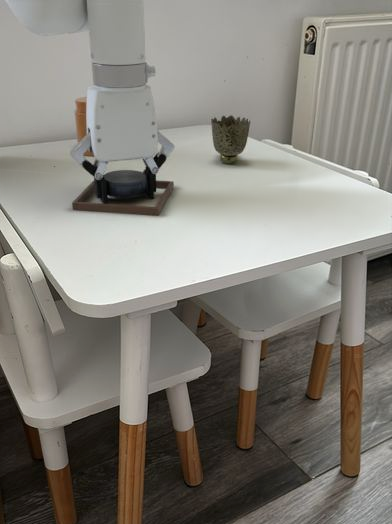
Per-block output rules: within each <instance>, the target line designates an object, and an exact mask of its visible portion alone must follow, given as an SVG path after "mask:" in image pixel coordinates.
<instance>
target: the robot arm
mask: <svg viewBox="0 0 392 524" xmlns="http://www.w3.org/2000/svg"><path fill="white" fill-rule="evenodd" d="M4 1H5V3H6V4H7V6H8V8H9V9H10V11H11V12H12V14H13V15H14V17H15V18H16V19H17V20H18V22H19V23H20V24H21V25H22V26H23V27H24V28H25V29H26V30H28V31H29V32H31V33H33V35H37V36H41V37H52V36H58V35H64V34H68V35H69V34H78V33H83V32H84V33H85V32H88V36H89V48H90V60H91V75H92V85H90V86H88V87H87V92H86V94H87V95H86V97H87V104H86V124H87V135H86V136H85V137H84V138H83V139H82V140H81V141H80V142H79V143H78V142H77V144H76V145H75V146H74V147H73V148H72V149H71V150H70V156H71V157H72V158H73V159H74V161H76V162H77V164H79V166H81V167H82V168H83V169H84V170H85V171H86V172H87V173H89V174H90V175H91V176H92V177H93V181H94V185H95V191H94V195H95V198H96V199H97V200H98V199H99V200H100V202H101V203H102V204H109V197H108V196H109V195H107V182H106V179H105V178H104V174H105V172H106V169H107V167H108V163H109V162H110V163H111V162H119V161H131V160H142V162H143V164H144V166H145V169H143V171H142V172H143V173H145V174H146V175H147V176H148V192H147V193H146V194H144V195H145V196H146V198H148V199H149V200H154V199H155V193H156V192H157V188H156V180H157V174H158V173H159V171H160V169H161V167H162V166H163V165H164V164H165V163H166V161H167V158H168V157H169V156H170V155H171V154H172V152H173V151H174V149H175V144H174V143H173V142H171V141H170V140H169V139H168V138H167V137H166V136H164V135H163V133H161V132H160V131H159V130H158V124H157V116H156V108H155V102H154V97H153V92H152V88H151V86H150V85H149V84H148V80H149V78H152V77H155V76H156V67H155V66H154V65H153V66H152V65H151V66H150V65H149V64H148V62H146V43H145V42H146V38H145V36H146V35H145V34H146V33H145V7H144V6H145V5H144V0H4ZM159 144H160V145H161V148H160V149H159ZM87 150H89V152H90V153H91V154H93V155H94V156H93V157H94V159H93V160H94V161H93V163H92V162H91V161H89V160H88V159H87V158H86V156H85V155H84V153H85V152H86V151H87ZM158 150H159V152H158Z"/></svg>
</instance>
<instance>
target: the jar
mask: <svg viewBox="0 0 392 524" xmlns="http://www.w3.org/2000/svg"><path fill="white" fill-rule="evenodd" d="M74 103H75V110H74V121H75V131H76V140H77V141H76V142H77V144H78V143H79V142H80V141H81V140H82V139H83V138H84V137H85V136H86V135H87V124H86V104H87V96H84V97H83V96H82V97H78V98H76V99H75V101H74ZM84 156H85V157H94V155H93V154H91V153H90V152H89V150H87V151H86V152H85V153H84Z"/></svg>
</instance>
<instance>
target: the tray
mask: <svg viewBox="0 0 392 524" xmlns="http://www.w3.org/2000/svg"><path fill="white" fill-rule="evenodd" d="M156 189H163V190H164V191H163V193H162V195H161V197H160V198H159V200H158V202H157V203H156V205H155V206H148V205H147V206H146V205H145V206H144V205H131V204H130V205H129V204H118V203H117V204H116V203H115V204H114V203H108V204H103V203H102V202H101V203H100V202H87V200H88V199H89V197H90V196H91V195H92V194H93V193H95V185H94V180H93V181H92V182H91V183H90V184H89V185H88V186H87V187H86V188H85V189H84V190H83V191H82V192H81V193H80V194H79V195H78V196H77V197H76V198H75V199H74V200H73V201H72V203H71V206H72V211H80V212H93V213H94V212H96V213H109V214H110V213H111V214H123V215H138V216H140V215H141V216H151V217H152V216H153V217H159V215H160V214H161V212H162V210H163V209H164V207H165V205H166V203H167V201H168V200H169V198H170V196H171V194H172V192H173V190H174V189H175V182H174V181H172V180H157V179H156Z"/></svg>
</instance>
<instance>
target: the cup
mask: <svg viewBox="0 0 392 524" xmlns="http://www.w3.org/2000/svg"><path fill="white" fill-rule="evenodd" d="M210 122H211V136H212V137H211V138H212V144H213V147H214V150H215V151H216V153H218V154H219V161H220V162H221V163H222V164H227V165H233V164H236V163H237V162H238V160H239V155H240V154H242V153H243V152H244V150H245V149H246V146H247V142H248V138H249V133H250V126H251V120H249V118H246V117H243V118H241V117H240V116H238V117H236V118H235V117H234V115H232V114H230V115H228V116H227V117H226V116H225V115H222V116H221V118H220V120H219V119H217V117H216V116H214V118H211V121H210Z"/></svg>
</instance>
